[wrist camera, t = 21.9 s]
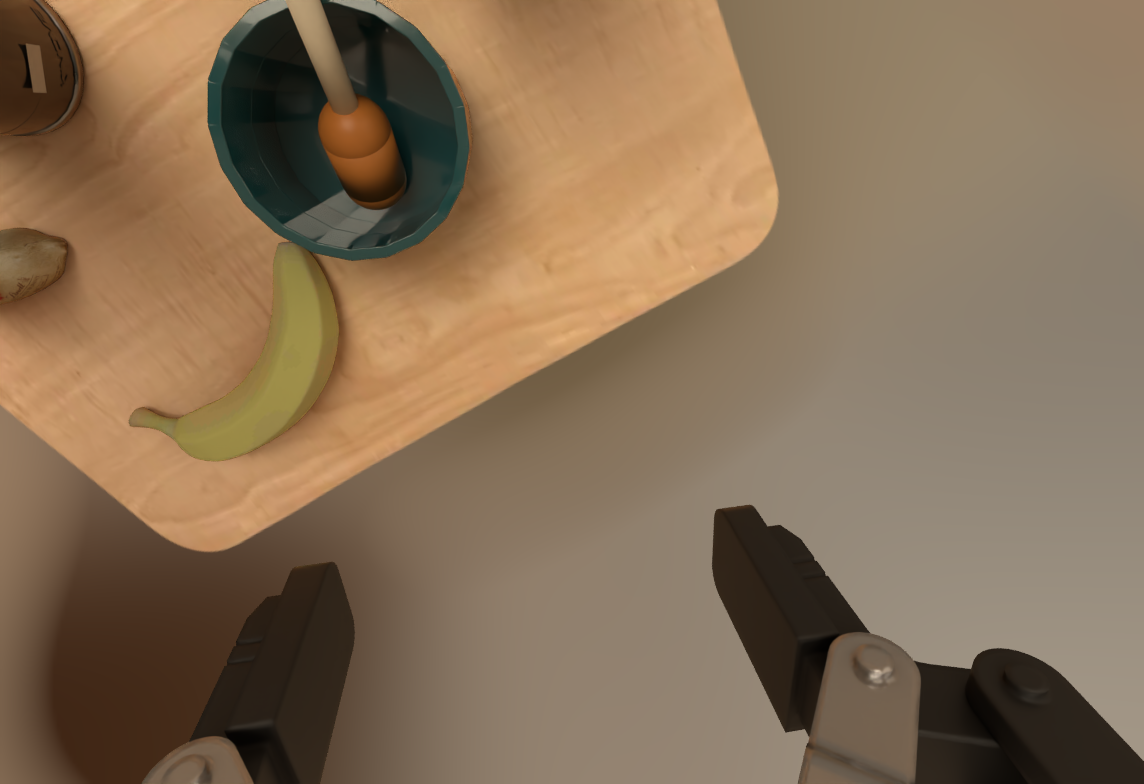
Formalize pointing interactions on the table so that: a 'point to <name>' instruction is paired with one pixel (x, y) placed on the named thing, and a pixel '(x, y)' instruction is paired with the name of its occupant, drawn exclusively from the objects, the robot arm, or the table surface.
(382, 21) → the pot
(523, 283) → the table surface
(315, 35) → the drumstick
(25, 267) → the chocolate bunny
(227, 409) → the banana
